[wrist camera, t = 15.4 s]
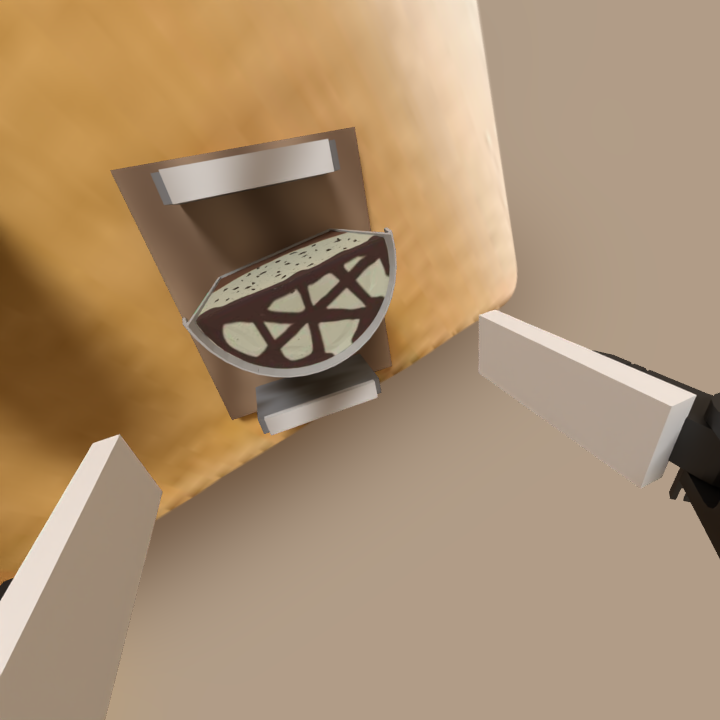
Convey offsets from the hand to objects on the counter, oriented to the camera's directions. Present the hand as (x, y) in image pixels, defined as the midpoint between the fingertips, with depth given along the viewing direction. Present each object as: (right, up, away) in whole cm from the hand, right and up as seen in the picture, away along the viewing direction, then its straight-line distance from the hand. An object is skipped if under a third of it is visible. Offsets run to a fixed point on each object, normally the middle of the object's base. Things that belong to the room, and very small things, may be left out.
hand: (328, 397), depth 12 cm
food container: (-4, +7, +15) cm, 17 cm away
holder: (-5, +8, +16) cm, 18 cm away
